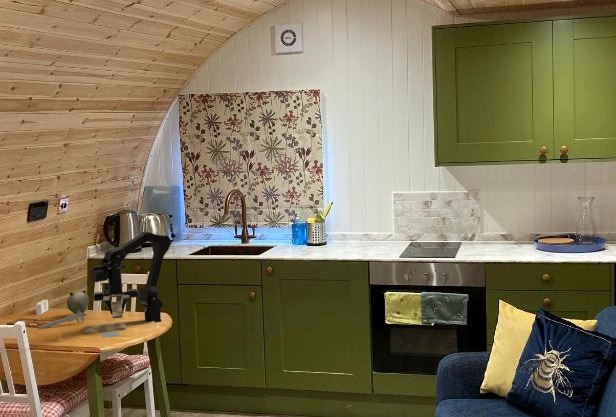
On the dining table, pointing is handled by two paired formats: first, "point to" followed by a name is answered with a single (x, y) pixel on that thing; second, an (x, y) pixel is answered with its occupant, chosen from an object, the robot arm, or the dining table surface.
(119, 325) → the oak board
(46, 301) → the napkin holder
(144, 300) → the robot arm
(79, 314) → the caliper
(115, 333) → the mat
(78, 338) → the dining table surface
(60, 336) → the dining table surface
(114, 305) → the block
